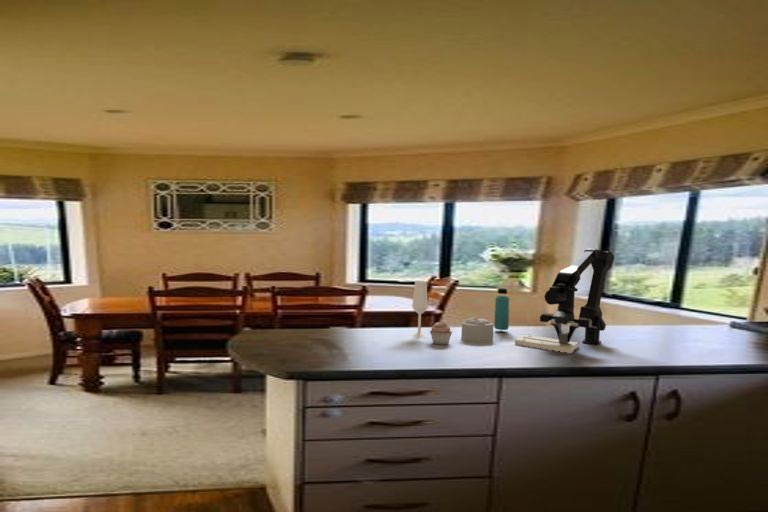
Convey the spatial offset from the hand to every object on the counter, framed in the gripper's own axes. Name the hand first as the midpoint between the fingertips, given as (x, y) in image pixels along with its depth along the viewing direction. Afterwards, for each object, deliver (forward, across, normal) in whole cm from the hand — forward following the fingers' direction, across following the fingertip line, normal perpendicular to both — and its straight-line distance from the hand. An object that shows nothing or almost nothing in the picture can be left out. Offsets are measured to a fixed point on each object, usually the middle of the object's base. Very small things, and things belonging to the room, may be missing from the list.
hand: (564, 341), depth 189 cm
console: (+3, -7, 0) cm, 8 cm away
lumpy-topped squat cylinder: (+3, -34, -8) cm, 35 cm away
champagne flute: (+3, -56, -19) cm, 59 cm away
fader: (0, 0, 0) cm, 0 cm away
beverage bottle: (+3, -31, +13) cm, 34 cm away
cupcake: (+3, -43, -24) cm, 49 cm away
